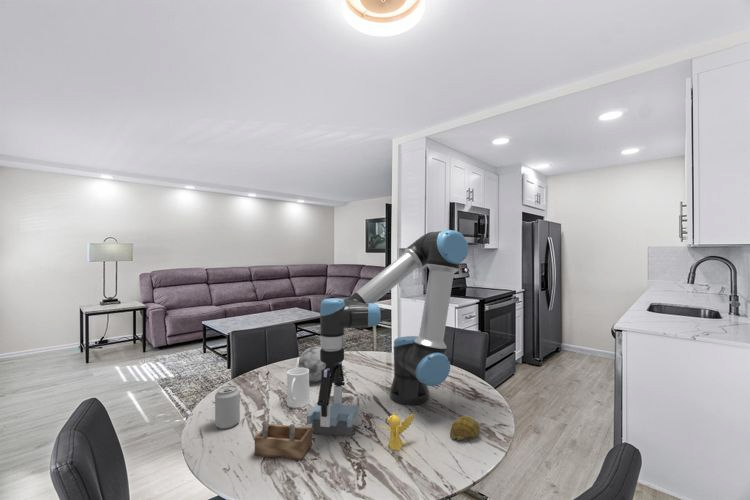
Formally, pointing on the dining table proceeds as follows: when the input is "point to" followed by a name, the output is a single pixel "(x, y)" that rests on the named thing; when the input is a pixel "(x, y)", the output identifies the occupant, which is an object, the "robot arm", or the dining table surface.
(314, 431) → the gray rectangular block
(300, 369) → the mug
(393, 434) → the figurine
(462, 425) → the seashell
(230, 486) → the dining table surface
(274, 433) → the carcass
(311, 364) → the stone
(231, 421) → the can
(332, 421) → the door
